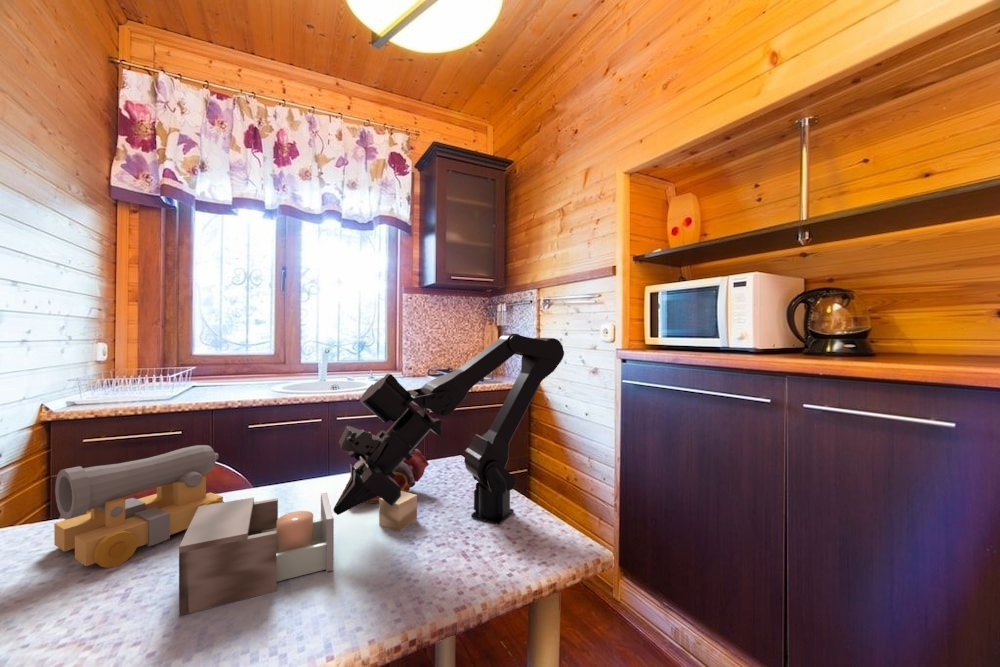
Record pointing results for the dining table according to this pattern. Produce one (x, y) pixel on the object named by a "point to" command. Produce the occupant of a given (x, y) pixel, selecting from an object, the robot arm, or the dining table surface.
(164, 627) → the dining table surface
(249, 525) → the housing
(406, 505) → the block
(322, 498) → the drawer
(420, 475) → the anatomical model
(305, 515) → the tan rounded cylinder
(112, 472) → the toy cannon
